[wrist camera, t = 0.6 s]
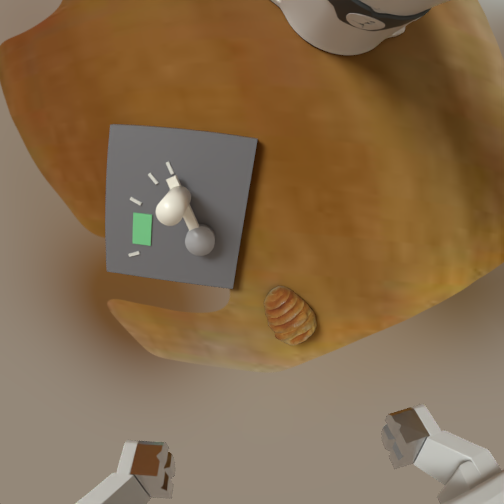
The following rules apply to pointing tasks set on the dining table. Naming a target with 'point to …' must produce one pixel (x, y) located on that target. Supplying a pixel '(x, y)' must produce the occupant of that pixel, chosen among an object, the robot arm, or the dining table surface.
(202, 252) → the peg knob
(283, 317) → the pastry
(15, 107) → the dining table surface
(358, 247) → the dining table surface
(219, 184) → the dial plate
